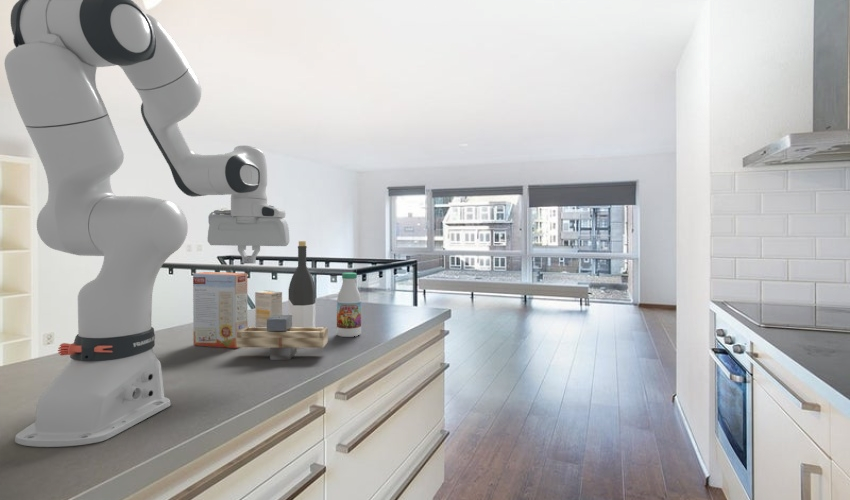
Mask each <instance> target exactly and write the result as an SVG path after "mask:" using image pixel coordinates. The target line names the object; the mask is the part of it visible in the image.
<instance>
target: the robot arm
mask: <svg viewBox="0 0 850 500" xmlns="http://www.w3.org/2000/svg"><path fill="white" fill-rule="evenodd" d="M10 27H11V32H12V35H13V44H14V48H13V49H11V50H9V52H8V53H7V54H6V55H5V57H4V70H5V74H6V78H7V82H8V85H9V89H10V92H11V94H12V98H13V101H14V103H15V106H16V109H17V111H18V114H19V117H20V118H21V120H22V122H23V124H24V127H25V129H26V130H27V133H28V135H29V137H30V140H31V141H32V144H33V145H34V149H36V153H37V154H38V157H39V159H40V161H41V164H42V166H43V168H44V171H45V176H46V179H47V180H46V181H47V187H48V196H47V201H46V203H45V205H44V206H43V207H42V208H41V209H40V211H39V213H38V216H37V218H36V229H37V230H36V231H37V234H38V236H39V238H40V240H41V241H42V242H43V243H44V244H45V246H48V247H49V248H50V249H53V250H55V251H59V252H63V253H67V254H70V255H76V256H80V257H83V256H84V257H85V256H86V257H92V256H93V257H103V263H102V266H101V268H100V271H99V272H98V274H97V276H96V277H95V278H94V279H92V280H90V281H88V282H87V283H86V284H84V285H83V286H82V287H81V288H80V290H79V292H78V294H77V328H78V330H77V331H78V332H77V333H78V334H76V336H75V337H74V340H73V341H74V342H72V343H68V342H67V343H66V342H63V343H60V344H59V346H58V347H57V348H58V350H57V352H58V353H57V354H59V356H69V358H70V360H69V362H68V363H67V365H66V366H65V367H64V368H63V370H61V372H60V373H59V374H58V375H57V376H56V377H55V379H54V380H53V381H52V382H51V383H50V385H49V386H48V387H47V388H46V390H44V392H43V393H41V395H40V396H39V398H38V400H37V404H36V412H35V421H34V422H32V423H31V424H30V425H28V426H26V427H25V428H24V429H22V430H21V431H19V432H18V433H17V434H16V435H15V438H14V442H15V443H16V444H18V445H21V446H28V447H37V448H38V447H39V448H43V447H44V448H49V447H50V448H52V447H53V448H55V447H73V446H82V445H89V444H90V445H91V444H96V443H101V442H103V441H107V440H109V439H110V438H113V437H115V436H116V435H118V434H120V433H122V432H124V431H126V430H128V429H129V428H131V427H133V426H134V425H135V426H136V425H137V424H138V423H140V422H143V421H144V420H146V419H147V418H150V417H152V416H154V415H156V414H157V413H159V412H161V411H163V410H165V409H167V408H169V407H170V406H171V400H170V398H169V397H165V390H164V382H163V381H164V380H163V373H162V364H161V362H160V360H159V359H158V358H157V356H156V355H155V352H154V347H155V344H156V343H155V339H156V334H155V329H154V327H152V310H153V309H152V308H153V306H152V305H153V304H152V303H153V290H154V286H155V282H156V279H157V276H158V275H159V272H160V270H161V268H162V266H163V265H164V264H165V262H166V261H167V260H168V258H170V256H171V255H173V254H174V253H175V252H176V251H178V250H179V249H180V248H181V247H182V246H183V244H184V242H185V240H186V238H187V236H188V235H187V234H188V226H189V225H188V220H187V217H186V215H185V213H184V211H183V209H181V207H180V206H179V205H177V203H175V202H172V201H169V200H165V199H162V198H161V199H160V198H155V197H150V196H139V195H138V196H129V195H128V196H125V195H123V196H116V195H115V193H114V192H113V190H112V186H111V185H112V184H111V176H113V174H115V173H116V172H117V171H118V170H119V169H120V168H121V167H122V164H123V162H124V158H125V157H124V155H125V153H124V152H123V149H122V146H121V144H120V141H119V138H118V135H117V133H116V130H115V128H114V126H113V123H112V120H111V118H110V115H109V112H108V110H107V108H106V106H105V103H104V100H103V99H102V96H101V94H100V92H99V90H98V88H97V82H96V81H97V80H96V74H97V73H96V72H97V69H98V68H105V67H114V66H118V67H120V69H122V71H123V72H124V75H126V77H127V79H128V80H129V81H130V83H131V84H132V86H133V87H134V89H135V91H136V92H137V93H138V95H139V97H140V99H141V101H142V103H141V105H140V113H141V117H142V119H143V122H144V125H145V126H146V128H147V129H148V132H149V133H150V135H151V136H152V139H153V141H154V143H155V144H156V146H157V147H158V149H159V151H160V153H161V155H162V156H163V158H164V160H165V161H166V163H167V165H168V167H169V169H170V172H171V175H172V178H173V180H174V183H175V185H176V186H177V188H178V189H179V190H180V191H181V192H182V193H183V194H185V195H187V196H189V197H192V198H193V197H195V198H196V197H202V196H203V197H204V196H225V195H229V196H230V209H229V210H228V209H224V210H220V209H215V210H213V211H211V212H210V213H209V215H208V228H207V229H208V230H207V242H208V244H209V245H210V246H235V247H236V246H237V251H238V253H239V255H240V256H241V263H242V264H256V263H257V262H256V260H257V259H256V258H257V256H258V255H259V252H261V247H287V246H288V245H289V243H290V230H289V229H290V228H289V224H288V222H287V221H286V219H285V218H286V211H285V210H283V209H282V208H281V209H280V208H277V207H276V206H274V205H273V206H272V205H271V204H270V205H268V197H267V193H266V192H267V191H266V189H267V186H268V168H267V167H268V166H267V160H266V155H265V153H264V152H263V151H262V150H260V149H259V148H258V147H254V146H250V145H237V146H235V147H234V149H233V150H232V151H230V152H228V153H223V154H201V153H200V154H199V153H196V152H194V151H192V150H191V148H190V146H189V145H188V143H187V141H186V139H185V137H184V135H183V132H182V131H181V128H180V127H179V125H178V123H179V122H181V121H183V120H184V119H186V118H188V116H190V115H191V114H192V113H193V112H194V111H195V110H196V108H197V107H198V106H199V103H200V102H201V97H202V88H201V84H200V81H199V78H198V77H197V75H196V73H195V71H194V70H193V68H192V66H191V65H190V63H189V61H188V60H187V58H186V56H185V54H183V52H182V50H181V49H180V48H179V46H178V45H177V44H176V41H174V39H173V38H172V36H171V35H170V34H169V33H168V32H167V30H166V29H165V28H164V27H163V25H162V24H161V23H160V22H159V21H158V20H157V19H156V18H155V17H153V16H152V15H150V14H148V13H146V12H145V11H144V10H143V9H142V8H141V7H140V6H139V5H138V4H137V3H135V1H134V0H18V1H16V3H15V4H14V5H13V6H12V9H11V12H10ZM250 246H251V250H252V251H253V252H252V254H251V255H250V256H248V254H247V253H246V252H245V251H246V250H247V247H250Z"/></svg>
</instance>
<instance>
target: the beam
mask: <svg viewBox="0 0 850 500" xmlns="http://www.w3.org/2000/svg"><path fill="white" fill-rule="evenodd" d="M328 329H329V328H328V327H327V326H324V327H316V326H315V327H291V328H289V331H267V327H255V326H248V327H245V328H243V329H241V330H240V331H238V332H237V348H268V349H269V360H272V361H273V360H275V361H277V360H281V361H282V360H284V361H285V360H291V359H292V358H293V357H294V355H296V353H297V352H298V351H297V349H298V348H299V349H300V348H302V349H303V348H304V349H305V348H306V349H307V348H309V349H312V348H314V349H315V348H321V349H324V347H325V346H326V345H327V343H328V341H329V338H328V334H329V330H328Z"/></svg>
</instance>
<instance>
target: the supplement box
mask: <svg viewBox="0 0 850 500" xmlns="http://www.w3.org/2000/svg"><path fill="white" fill-rule="evenodd" d="M254 309H255V311H254V312H255V313H254V317H255V318H254V320H255V321H254V322H255V325H254V327H267V319H268V318H270V317H271V316H273V315H283V292H282V291H275V290H265V289H264V290H258V291H255V292H254Z"/></svg>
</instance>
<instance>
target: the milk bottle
mask: <svg viewBox="0 0 850 500" xmlns="http://www.w3.org/2000/svg"><path fill="white" fill-rule="evenodd" d="M357 275H358V274H357V272H342V274H341V280H342V283H341V284H342V285H341V287H340V289H339V292H338V294H337V300H336V335H337V336H338V337H340V338H341V337H342V338H353V337H354V336H355V337H358V335H359V336H361V335H362V298H361V297H362V296H361V293H360V291H359V288H358V286H357V278H358V277H357Z"/></svg>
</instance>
